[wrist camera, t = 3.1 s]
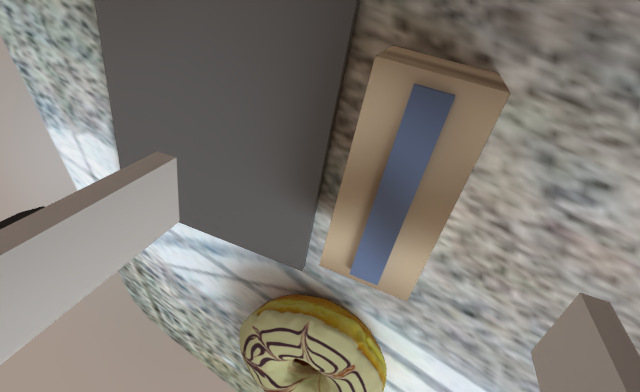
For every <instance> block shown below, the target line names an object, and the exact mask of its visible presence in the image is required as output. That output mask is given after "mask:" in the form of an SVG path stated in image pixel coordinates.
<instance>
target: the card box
mask: <svg viewBox="0 0 640 392" xmlns="http://www.w3.org/2000/svg"><path fill="white" fill-rule="evenodd" d="M509 95H510V92H509V90H508V88H507V86H506V85H505V83H504V81H503V79H502V78H501V76H500V74H498V73H494V72H491V71H487V70H483V69H479V68H476V67H472V66H468V65H464V64H460V63H457V62H453V61H449V60H445V59H442V58H438V57H434V56H430V55H427V54H423V53H419V52H415V51H412V50H408V49H404V48H400V47H397V46H391V47H390V48H388V49H386V50H385V51H383V52H381V53H380V54H378V55H376V56H375V59H374V63H373V67H372V70H371V74H370V78H369V82H368V85H367V89H366V93H365V96H364V100H363V104H362V108H361V111H360V115H359V119H358V123H357V126H356V130H355V134H354V137H353V141H352V145H351V149H350V152H349V156H348V160H347V164H346V167H345V171H344V175H343V179H342V182H341V186H340V190H339V193H338V197H337V201H336V205H335V208H334V212H333V216H332V220H331V223H330V227H329V231H328V234H327V238H326V242H325V246H324V249H323V253H322V257H321V261H320V264H319V266H322V267H324V268H327V269H329V270H332V271H334V272H337V273H339V274H341V275H344V276H346V277H349V278H351V279H354V280H356V281H359V282H361V283H363V284H366V285H368V286H371V287H373V288H376V289H378V290H381V291H383V292H386V293H388V294H390V295H393V296H395V297H398V298H400V299H403V300H405V301H407V300H408V298H409V296H410V294H411V292H412V290H413V288H414V286H415V284H416V282H417V280H418V278H419V276H420V274H421V272H422V270H423V268H424V266H425V264H426V262H427V260H428V258H429V256H430V254H431V252H432V250H433V248H434V246H435V244H436V242H437V240H438V238H439V236H440V234H441V232H442V230H443V228H444V226H445V224H446V222H447V220H448V218H449V216H450V214H451V212H452V210H453V208H454V206H455V204H456V202H457V200H458V198H459V196H460V194H461V192H462V190H463V188H464V186H465V184H466V182H467V180H468V178H469V176H470V174H471V172H472V170H473V168H474V166H475V164H476V162H477V160H478V158H479V156H480V154H481V152H482V150H483V148H484V145H485V143H486V141H487V139H488V137H489V135H490V133H491V131H492V129H493V127H494V125H495V123H496V121H497V119H498V117H499V115H500V113H501V111H502V109H503V107H504V105H505V103H506V101H507V99H508V97H509Z"/></svg>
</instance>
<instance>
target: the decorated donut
mask: <svg viewBox="0 0 640 392" xmlns="http://www.w3.org/2000/svg"><path fill="white" fill-rule="evenodd" d="M240 349H241V354H242V356H243V359H244V362H245V364H246V366H247V368H248V370H249V372H250V373H251V375H252V377H253V378H254V379H255V381H256V382H257V384H258V385H259V386H260V387H261V388H262V389H263V390H264V391H265V392H383V390H384V387H385V382H386V363H385V360H384V357H383V355H382V352H381V350H380V347H379V346H378V344H377V343H376V341H375V339H374V338H373V336H372V334H371V332H370V330H369V329H368V328H367V327H366V326H365V325H364V324H363V323H362V322H361V321H360V320H359V319H358V318H357V317H355V316H354V315H352V314H351V313H350V312H348V311H347V310H345V309H344V308H342V307H340V306H339V305H337V304H335V303H333V302H331V301H330V300H328V299H325V298H317V297H313V296H306V295H297V294H295V295H288V296H282V297H279V298H276V299H274V300H271V301H268V302H267V303H265V304H264V305H263V306H261V307H260V308H259V309H258V310H256V311H255V312H253V313H252V314H251V315H250V316H249V317H248V319H246V320H244V321H243V323H242V325H241V328H240Z"/></svg>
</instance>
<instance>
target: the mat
mask: <svg viewBox="0 0 640 392" xmlns="http://www.w3.org/2000/svg"><path fill="white" fill-rule="evenodd" d="M359 1H360V0H95V6H96V13H97V19H98V26H99V32H100V39H101V45H102V52H103V58H104V65H105V71H106V78H107V84H108V91H109V98H110V104H111V111H112V117H113V124H114V130H115V137H116V143H117V150H118V156H119V163H120V169H123V168H125V167H127V166H129V165H131V164H133V163H135V162H137V161H139V160H141V159H143V158H145V157H147V156H149V155H151V154H153V153H155V152H157V151H158V152H161V153H164V154H167V155H170V156H173V157H176V158H177V180H178V201H179V223H182V224H185V225H187V226H190V227H192V228H195V229H197V230H200V231H202V232H205V233H207V234H210V235H212V236H215V237H217V238H220V239H222V240H225V241H227V242H230V243H232V244H235V245H237V246H240V247H242V248H245V249H247V250H250V251H252V252H255V253H258V254H260V255H263V256H265V257H268V258H270V259H273V260H275V261H278V262H280V263H283V264H285V265H288V266H290V267H293V268H295V269H298V270H300V271H302V269H303V268H304V266H305V261H306V256H307V251H308V247H309V242H310V237H311V232H312V227H313V223H314V218H315V213H316V208H317V203H318V198H319V194H320V189H321V184H322V179H323V174H324V170H325V165H326V160H327V155H328V150H329V145H330V141H331V136H332V131H333V126H334V121H335V117H336V112H337V107H338V102H339V97H340V93H341V88H342V83H343V78H344V73H345V68H346V64H347V59H348V54H349V49H350V44H351V40H352V35H353V30H354V25H355V20H356V15H357V11H358V6H359Z"/></svg>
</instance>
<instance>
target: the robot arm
mask: <svg viewBox="0 0 640 392" xmlns="http://www.w3.org/2000/svg"><path fill="white" fill-rule="evenodd" d="M178 222H179V201H178V180H177V158H176V157H173V156H170V155H167V154H164V153H161V152H158V151H157V152H155V153H153V154H151V155H149V156H147V157H145V158H143V159H141V160H139V161H137V162H135V163H133V164H131V165H129V166H127V167H125V168H123V169H121V170H119V171H117V172H115V173H113V174H111V175H109V176H107V177H105V178H103V179H101V180H99V181H97V182H95V183H93V184H91V185H89V186H87V187H85V188H83V189H81V190H79V191H77V192H75V193H73V194H71V195H69V196H67V197H65V198H63V199H61V200H59V201H57V202H55V203H53V204H51V205H49V206H47V207H39V208H36V209H32V210H28V211H24V212H21V213H18V214H16V215H14V216H12V217H10V218H7V219H5V220H3V221H1V222H0V365H1V364H2V363H3V362H4V361H6V360H7V359H8V358H9V357H11V356H12V355H13V354H14V353H16V352H17V351H18V350H19V349H20V348H22V347H23V346H24V345H25V344H27V343H28V342H29V341H31V340H32V339H33V338H34V337H36V336H37V335H38V334H39V333H41V332H42V331H43V330H44V329H45V328H47V327H48V326H49V325H51V324H52V323H53V322H54V321H56V320H57V319H58V318H59V317H60V316H62V315H63V314H64V313H65V312H67V311H68V310H69V309H70V308H72V307H73V306H74V305H75V304H77V303H78V302H79V301H80V300H82V299H83V298H84V297H85V296H87V295H88V294H89V293H90V292H92V291H93V290H94V289H95V288H97V287H98V286H99V285H100V284H102V283H103V282H104V281H105V280H107V279H108V278H109V277H110V276H112V275H113V274H114V273H115V272H117V271H118V270H119V269H120V268H122V267H123V266H124V265H125V264H127V263H128V262H129V261H130V260H132V259H133V258H134V257H135V256H137V255H138V254H139V253H140V252H142V251H143V250H144V249H145V248H147V247H148V246H149V245H150V244H152V243H153V242H154V241H155V240H157V239H158V238H159V237H160V236H162V235H163V234H164V233H165V232H167V231H168V230H169V229H170V228H172V227H173V226H174V225H175V224H177V223H178ZM531 354H532V359H533V363H534V367H535V371H536V375H537V379H538V383H539V387H540V391H541V392H640V356H639V354H638V352H637V351H636V349H635V347H634V345H633V343H632V342H631V340H630V338H629V336H628V334H627V333H626V331H625V329H624V327H623V325H622V324H621V322H620V320H619V318H618V316H617V314H616V313H615V311H614V309H613V307H612V305H611V304H610V302H607V301H604V300H601V299H598V298H595V297H592V296H589V295H586V294H583V293H579V295H578V296H577V297H576V298H575V299H574V301H573V302H572V303H571V304H570V305H569V307H568V308H567V309H566V310H565V311H564V313H563V314H562V315H561V316H560V317H559V319H558V320H557V321H556V322H555V323H554V325H553V326H552V327H551V328H550V329H549V331H548V332H547V333H546V334H545V335H544V337H543V338H542V339H541V340H540V341H539V343H538V344H537V345H536V346H535V347H534V349H533V350H532V351H531Z"/></svg>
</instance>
